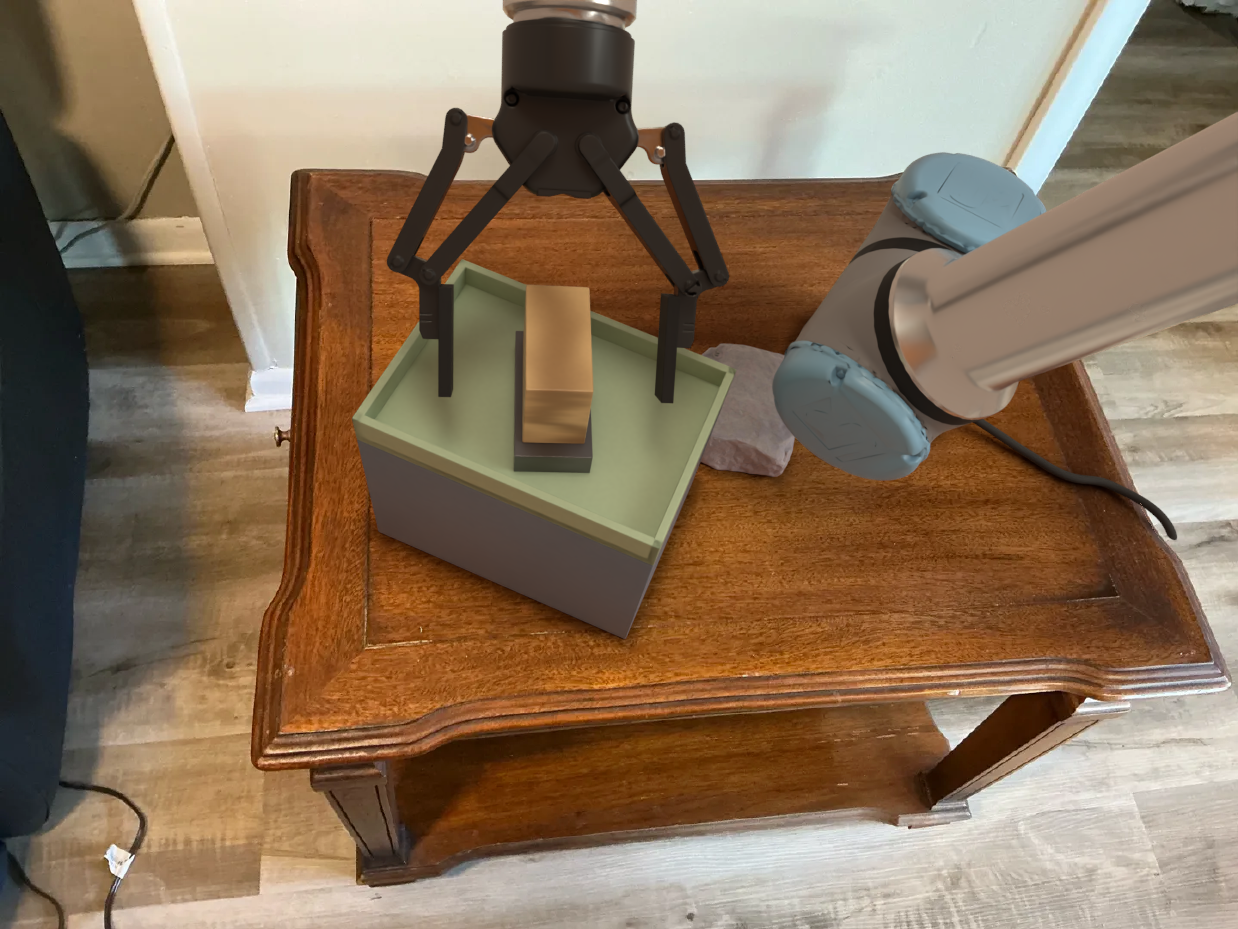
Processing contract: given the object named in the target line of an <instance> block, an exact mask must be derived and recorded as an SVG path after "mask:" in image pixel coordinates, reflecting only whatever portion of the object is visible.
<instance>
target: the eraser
mask: <svg viewBox="0 0 1238 929" xmlns="http://www.w3.org/2000/svg"><path fill="white" fill-rule="evenodd" d="M525 285H526V293H525V312H524V331H516V334H515V384H514V470H513V471H515V472H567V473H590V469H591V464H592V459H593V450H592V424H591V403H592V397H593V392H594V391H593V365H592V340H591V314H590V311H591V293H590V292H591V291H590V287H589V286H567V285H566V286H565V285H545V284H543V285H542V284H525Z"/></svg>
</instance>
